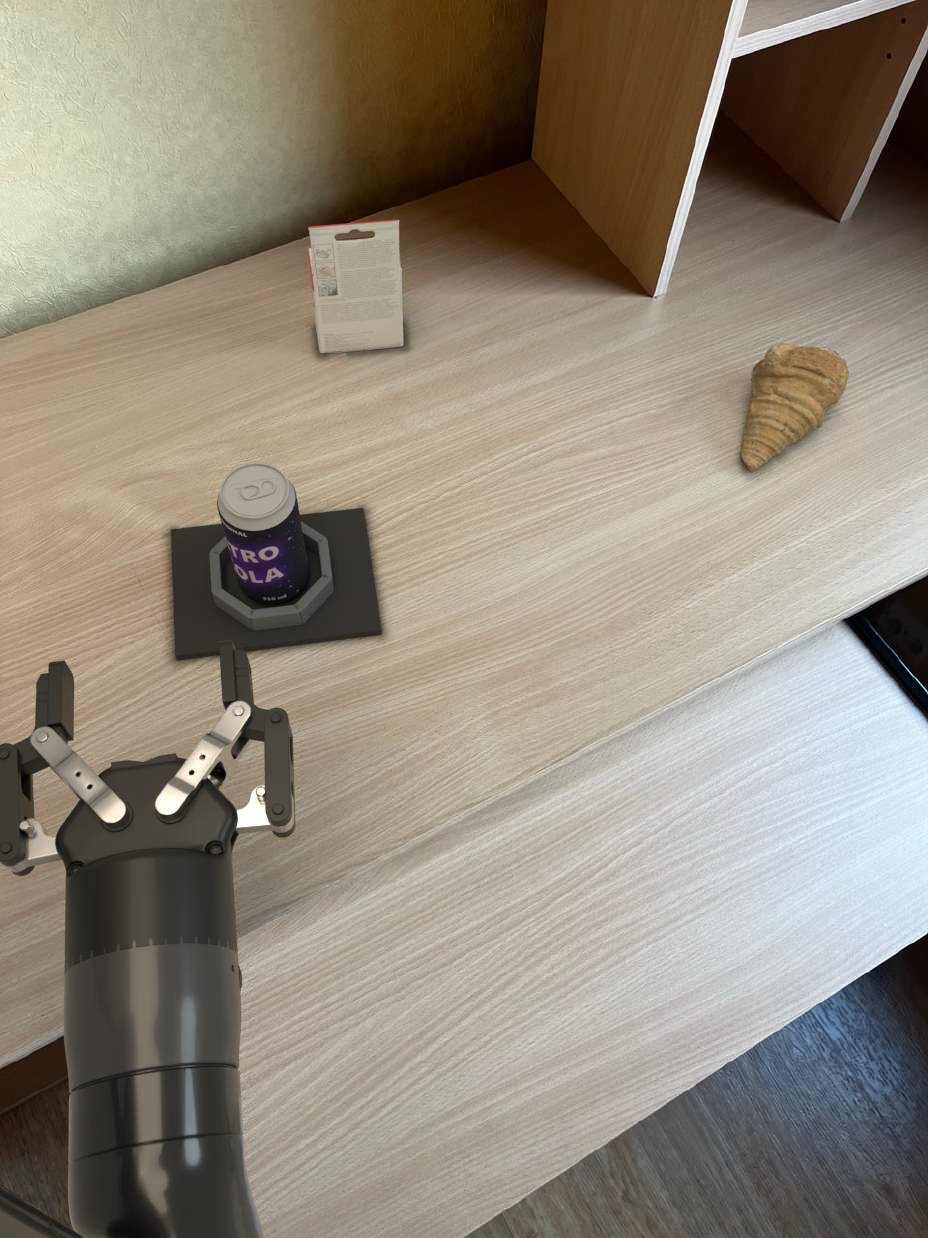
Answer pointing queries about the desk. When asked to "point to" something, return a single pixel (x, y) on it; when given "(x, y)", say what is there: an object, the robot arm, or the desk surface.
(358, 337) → the ink box
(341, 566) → the socket pad
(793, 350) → the seashell
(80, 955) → the robot arm
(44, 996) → the desk surface
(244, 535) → the beverage can
